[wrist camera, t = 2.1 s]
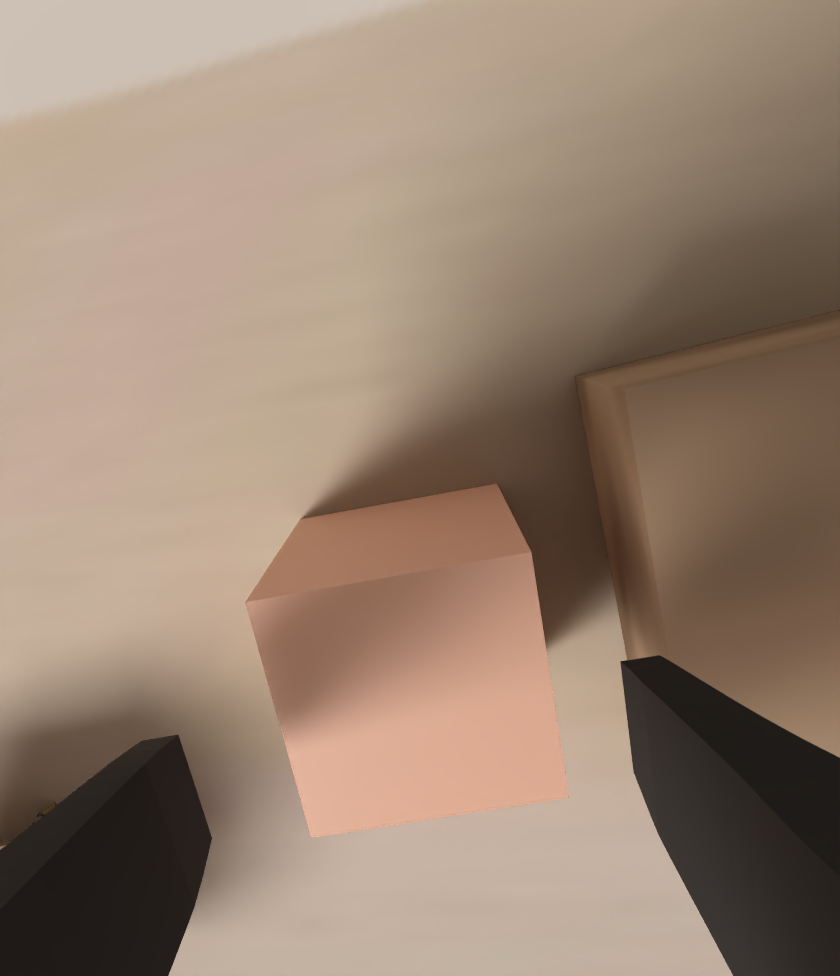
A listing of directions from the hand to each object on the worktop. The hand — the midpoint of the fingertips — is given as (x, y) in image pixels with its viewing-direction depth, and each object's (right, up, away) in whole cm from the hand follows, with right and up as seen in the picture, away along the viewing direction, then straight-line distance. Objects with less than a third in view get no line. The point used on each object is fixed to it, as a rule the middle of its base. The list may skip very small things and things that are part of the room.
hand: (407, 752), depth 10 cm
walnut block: (+9, +3, +6) cm, 11 cm away
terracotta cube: (0, +2, +6) cm, 6 cm away
